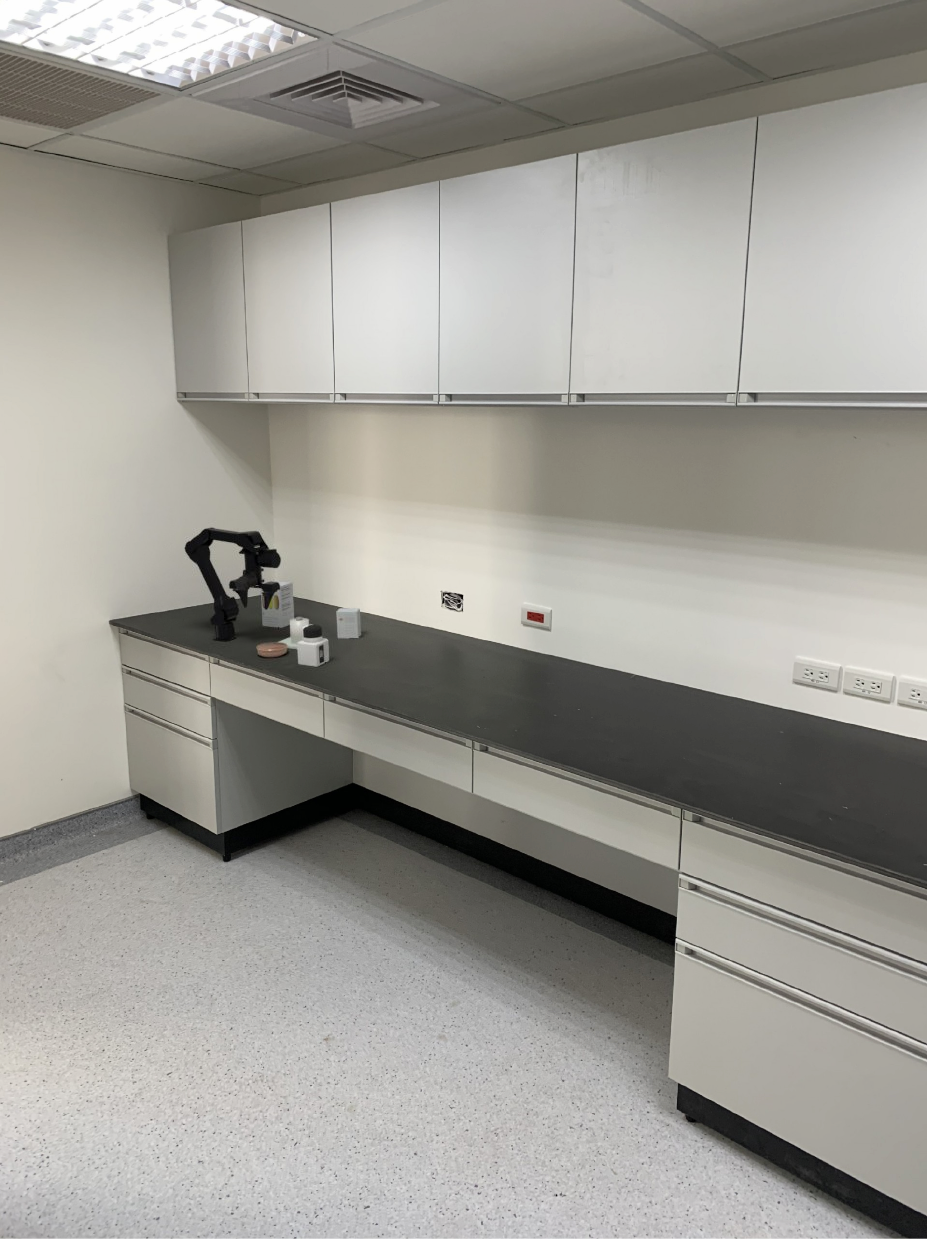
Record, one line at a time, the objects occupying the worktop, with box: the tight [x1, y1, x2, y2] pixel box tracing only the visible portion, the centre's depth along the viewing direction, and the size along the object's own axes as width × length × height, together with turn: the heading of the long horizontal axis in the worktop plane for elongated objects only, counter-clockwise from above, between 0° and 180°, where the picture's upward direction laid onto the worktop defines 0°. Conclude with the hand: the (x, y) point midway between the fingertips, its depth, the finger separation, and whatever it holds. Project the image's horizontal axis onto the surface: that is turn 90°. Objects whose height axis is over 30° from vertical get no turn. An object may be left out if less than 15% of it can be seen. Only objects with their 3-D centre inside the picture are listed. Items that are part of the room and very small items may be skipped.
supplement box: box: [260, 580, 295, 629], centre depth 350 cm, size 10×9×17 cm
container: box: [296, 623, 330, 668], centre depth 298 cm, size 8×8×13 cm
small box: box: [335, 607, 362, 639], centre depth 331 cm, size 8×6×10 cm
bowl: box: [256, 641, 288, 658], centre depth 310 cm, size 11×11×3 cm
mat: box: [278, 636, 327, 650], centre depth 324 cm, size 14×14×1 cm
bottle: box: [289, 616, 310, 644], centre depth 323 cm, size 7×7×9 cm
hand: (255, 608), depth 322 cm, fingers open, 9 cm apart
